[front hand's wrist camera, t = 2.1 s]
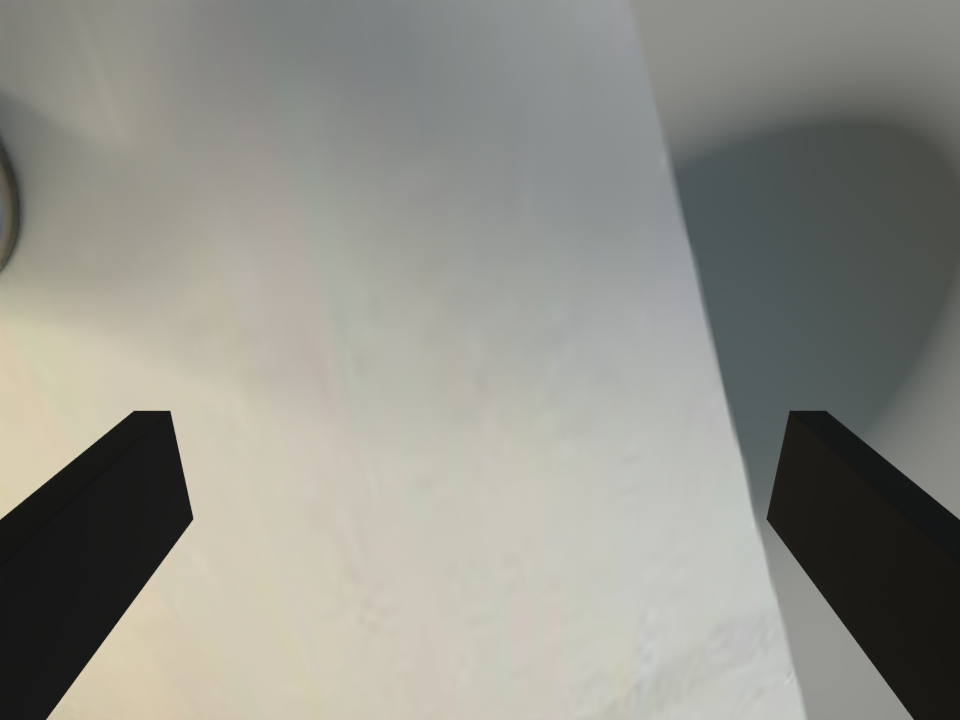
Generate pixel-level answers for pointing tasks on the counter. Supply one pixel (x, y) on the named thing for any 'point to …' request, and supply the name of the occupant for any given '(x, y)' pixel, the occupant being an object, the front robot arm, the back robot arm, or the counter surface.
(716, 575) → the counter surface
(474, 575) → the counter surface
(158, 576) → the counter surface
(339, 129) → the counter surface
